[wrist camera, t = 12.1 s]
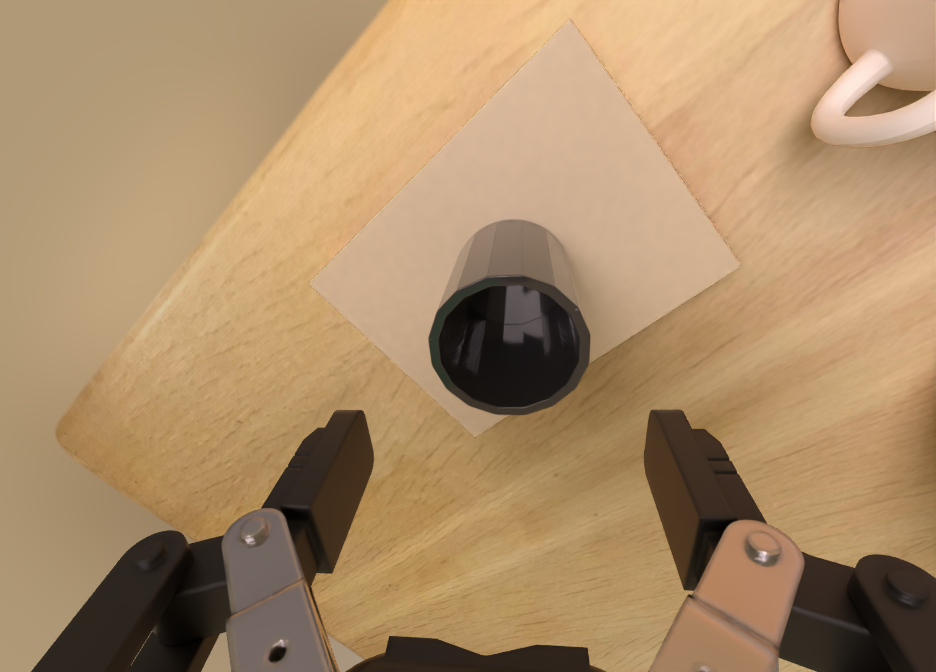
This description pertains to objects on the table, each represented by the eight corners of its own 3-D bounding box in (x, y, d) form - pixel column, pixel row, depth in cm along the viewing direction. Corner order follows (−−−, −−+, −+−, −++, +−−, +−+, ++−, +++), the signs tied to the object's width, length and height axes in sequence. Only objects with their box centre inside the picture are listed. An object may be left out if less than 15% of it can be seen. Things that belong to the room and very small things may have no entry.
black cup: (461, 327, 26) (438, 415, 19) (450, 222, 23) (419, 278, 16) (568, 325, 25) (587, 415, 18) (571, 215, 22) (594, 271, 15)
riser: (478, 410, 32) (474, 438, 30) (327, 266, 28) (307, 283, 26) (719, 248, 25) (742, 266, 23) (564, 26, 21) (570, 17, 19)
